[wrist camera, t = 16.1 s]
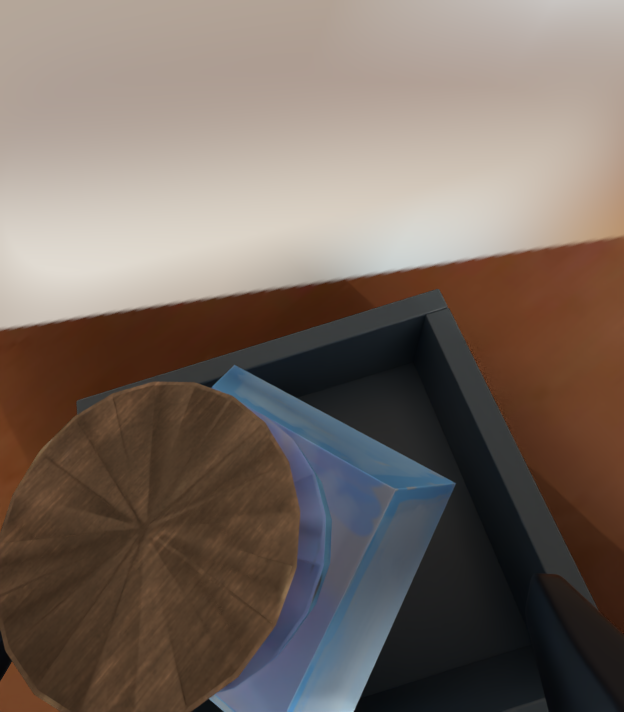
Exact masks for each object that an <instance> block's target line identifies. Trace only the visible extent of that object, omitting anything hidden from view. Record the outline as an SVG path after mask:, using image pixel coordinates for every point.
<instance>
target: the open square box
mask: <svg viewBox="0 0 624 712" xmlns="http://www.w3.org/2000/svg"><path fill="white" fill-rule="evenodd" d="M234 365H236V366H238V367H239V368H241V369H243V370H245V371H247V372H249V373H251V374H252V375H254V376H256V377H258V378H260V379H262V380H264V381H266V382H267V383H269V384H271V385H273V386H275V387H277V388H279V389H281V390H282V391H284V392H286V393H288V394H290V395H292V396H294V397H295V398H297V399H299V400H301V401H303V402H305V403H307V404H309V405H310V406H312V407H314V408H316V409H318V410H320V411H322V412H324V413H325V414H327V415H329V416H331V417H333V418H335V419H337V420H338V421H340V422H342V423H344V424H346V425H348V426H350V427H352V428H353V429H355V430H357V431H359V432H361V433H363V434H365V435H366V436H368V437H370V438H372V439H374V440H376V441H378V442H380V443H381V444H383V445H385V446H387V447H389V448H391V449H393V450H395V451H396V452H398V453H400V454H402V455H404V456H406V457H408V458H409V459H411V460H413V461H415V462H417V463H419V464H421V465H423V466H424V467H426V468H428V469H430V470H432V471H434V472H436V473H438V474H439V475H441V476H443V477H445V478H447V479H449V480H451V481H452V482H454V483H456V484H455V487H454V489H453V491H452V493H451V496H450V498H449V500H448V502H447V504H446V507H445V509H444V511H443V513H442V516H441V518H440V520H439V522H438V525H437V527H436V529H435V531H434V533H433V536H432V538H431V540H430V542H429V545H428V547H427V549H426V551H425V554H424V556H423V558H422V560H421V562H420V565H419V567H418V569H417V571H416V574H415V576H414V578H413V580H412V583H411V585H410V587H409V589H408V591H407V594H406V596H405V598H404V600H403V603H402V605H401V607H400V609H399V612H398V614H397V616H396V618H395V620H394V623H393V625H392V627H391V629H390V632H389V634H388V636H387V638H386V641H385V643H384V645H383V647H382V649H381V652H380V654H379V656H378V658H377V661H376V663H375V665H374V667H373V670H372V672H371V674H370V676H369V678H368V681H367V683H366V685H365V687H364V690H363V692H362V694H361V696H360V699H359V701H358V703H357V705H356V707H355V710H354V712H549V711H548V707H547V703H546V699H545V695H544V691H543V687H542V683H541V679H540V675H539V671H538V667H537V663H536V659H535V655H534V651H533V647H532V643H531V639H530V634H529V630H528V626H527V622H526V614H525V608H526V602H527V597H528V591H529V586H530V581H531V577H532V576H533V574H535V573H545V574H557V575H560V576H561V577H563V578H564V579H565V580H566V581H567V582H568V583H570V584H571V585H572V586H573V587H574V588H575V589H576V590H577V591H578V592H579V593H580V594H581V595H582V596H583V597H584V598H586V599H587V600H588V601H589V602H590V603H591V604H592V605H593V606H594V607H595V608H596V609H597V610H598V608H597V606H596V604H595V602H594V600H593V598H592V596H591V594H590V592H589V590H588V588H587V586H586V584H585V582H584V580H583V578H582V576H581V574H580V572H579V570H578V568H577V566H576V564H575V562H574V560H573V558H572V556H571V554H570V552H569V550H568V548H567V546H566V544H565V542H564V540H563V537H562V535H561V533H560V531H559V529H558V527H557V525H556V523H555V521H554V519H553V517H552V515H551V513H550V511H549V509H548V507H547V505H546V503H545V501H544V499H543V497H542V495H541V493H540V491H539V489H538V487H537V485H536V483H535V481H534V479H533V477H532V475H531V473H530V471H529V469H528V467H527V465H526V463H525V461H524V459H523V457H522V455H521V453H520V451H519V449H518V447H517V445H516V443H515V441H514V439H513V437H512V435H511V432H510V430H509V428H508V426H507V424H506V422H505V420H504V418H503V416H502V414H501V412H500V410H499V408H498V406H497V404H496V402H495V400H494V398H493V396H492V394H491V392H490V390H489V388H488V386H487V384H486V382H485V380H484V378H483V376H482V374H481V372H480V370H479V368H478V366H477V364H476V362H475V360H474V358H473V356H472V354H471V352H470V350H469V348H468V346H467V344H466V342H465V340H464V338H463V336H462V334H461V332H460V330H459V328H458V325H457V323H456V321H455V319H454V317H453V315H452V313H451V311H450V309H449V308H448V306H447V304H446V302H445V300H444V298H443V296H442V294H441V292H440V290H439V289H436V290H432V291H429V292H426V293H423V294H419V295H416V296H413V297H410V298H407V299H403V300H400V301H397V302H394V303H390V304H387V305H384V306H381V307H377V308H374V309H371V310H368V311H365V312H361V313H358V314H355V315H352V316H348V317H345V318H342V319H339V320H335V321H332V322H329V323H326V324H323V325H319V326H316V327H313V328H310V329H306V330H303V331H300V332H297V333H294V334H290V335H287V336H284V337H281V338H277V339H274V340H271V341H268V342H264V343H261V344H258V345H255V346H252V347H248V348H245V349H242V350H239V351H235V352H232V353H229V354H226V355H222V356H219V357H216V358H213V359H210V360H206V361H203V362H200V363H197V364H193V365H190V366H187V367H184V368H180V369H177V370H174V371H171V372H168V373H164V374H161V375H158V376H155V377H151V378H148V379H145V380H142V381H138V382H135V383H132V384H129V385H126V386H122V387H119V388H116V389H113V390H109V391H106V392H103V393H100V394H97V395H93V396H90V397H87V398H84V399H80V400H78V401H77V415H78V414H79V413H81V412H83V411H84V410H86V409H88V408H89V407H91V406H93V405H94V404H96V403H98V402H99V401H101V400H102V399H104V398H106V397H107V396H109V395H111V394H112V393H116V392H119V391H123V390H126V389H130V388H133V387H136V386H140V385H143V384H147V383H150V382H195V383H198V384H201V385H204V386H207V387H209V388H212V386H213V385H214V384H215V383H216V382H217V381H218V380H219V379H220V378H222V377H223V376H224V375H225V374H226V373H227V372H228V371H229V370H230V369H231V368H232V367H233V366H234ZM598 611H599V610H598ZM191 712H224V711H223V710H221V709H220V708H219V707H218V706H217V705H215V704H214V703H213V702H212V701H211V700H210V699H208V700H206V701H205V702H203V703H202V704H201V705H199V706H198V707H197V708H195V709H194V710H192V711H191Z"/></svg>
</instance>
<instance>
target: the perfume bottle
mask: <svg viewBox="0 0 624 712" xmlns="http://www.w3.org/2000/svg"><path fill="white" fill-rule="evenodd" d="M455 484H456V483H454V482H452V481H451V480H449V479H447V478H445V477H443V476H441V475H439V474H438V473H436V472H434V471H432V470H430V469H428V468H426V467H424V466H423V465H421V464H419V463H417V462H415V461H413V460H411V459H409V458H408V457H406V456H404V455H402V454H400V453H398V452H396V451H395V450H393V449H391V448H389V447H387V446H385V445H383V444H381V443H380V442H378V441H376V440H374V439H372V438H370V437H368V436H366V435H365V434H363V433H361V432H359V431H357V430H355V429H353V428H352V427H350V426H348V425H346V424H344V423H342V422H340V421H338V420H337V419H335V418H333V417H331V416H329V415H327V414H325V413H324V412H322V411H320V410H318V409H316V408H314V407H312V406H310V405H309V404H307V403H305V402H303V401H301V400H299V399H297V398H295V397H294V396H292V395H290V394H288V393H286V392H284V391H282V390H281V389H279V388H277V387H275V386H273V385H271V384H269V383H267V382H266V381H264V380H262V379H260V378H258V377H256V376H254V375H252V374H251V373H249V372H247V371H245V370H243V369H241V368H239V367H238V366H236V365H234V366H233V367H232V368H231V369H230V370H229V371H228V372H227V373H226V374H225V375H224V376H223V377H222V378H220V379H219V380H218V381H217V382H216V383H215V384H214V385H213V386H212V388H209V387H207V386H204V385H201V384H198V383H195V382H150V383H147V384H143V385H140V386H136V387H133V388H130V389H126V390H123V391H119V392H116V393H112V394H111V395H109V396H107V397H106V398H104V399H102V400H101V401H99V402H98V403H96V404H94V405H93V406H91V407H89V408H88V409H86V410H84V411H83V412H81V413H79V414H78V415H76V416H74V417H73V418H72V419H71V420H70V421H69V422H68V423H67V424H66V425H65V426H64V427H63V428H62V429H61V430H60V431H59V432H58V433H57V434H56V435H55V436H54V437H53V438H52V439H51V440H50V441H49V442H48V443H47V444H46V445H45V446H44V447H43V448H42V449H41V450H40V451H39V453H38V454H37V456H36V458H35V459H34V461H33V463H32V464H31V466H30V468H29V469H28V471H27V472H26V474H25V476H24V477H23V479H22V481H21V482H20V484H19V485H18V487H17V489H16V490H15V492H14V494H13V495H12V498H11V502H10V505H9V508H8V511H7V514H6V517H5V520H4V523H3V526H2V529H1V532H0V631H1V635H2V639H3V643H4V647H5V651H6V653H7V654H8V656H9V657H10V659H11V660H12V662H13V663H14V665H15V666H16V668H17V669H18V671H19V672H20V674H21V675H22V677H23V678H24V680H25V681H26V683H27V684H28V686H29V687H30V689H31V690H32V692H33V693H34V695H36V696H37V697H39V698H40V699H42V700H44V701H45V702H47V703H48V704H50V705H51V706H53V707H54V708H56V709H57V710H59V711H61V712H191V711H192V710H194V709H195V708H197V707H198V706H199V705H201V704H202V703H203V702H205V701H206V700H208V699H210V700H211V701H212V702H213V703H214V704H215V705H217V706H218V707H219V708H220V709H221V710H223V711H224V712H354V710H355V707H356V705H357V703H358V701H359V699H360V696H361V694H362V692H363V690H364V687H365V685H366V683H367V681H368V678H369V676H370V674H371V672H372V670H373V667H374V665H375V663H376V661H377V658H378V656H379V654H380V652H381V649H382V647H383V645H384V643H385V641H386V638H387V636H388V634H389V632H390V629H391V627H392V625H393V623H394V620H395V618H396V616H397V614H398V612H399V609H400V607H401V605H402V603H403V600H404V598H405V596H406V594H407V591H408V589H409V587H410V585H411V583H412V580H413V578H414V576H415V574H416V571H417V569H418V567H419V565H420V562H421V560H422V558H423V556H424V554H425V551H426V549H427V547H428V545H429V542H430V540H431V538H432V536H433V533H434V531H435V529H436V527H437V525H438V522H439V520H440V518H441V516H442V513H443V511H444V509H445V507H446V504H447V502H448V500H449V498H450V496H451V493H452V491H453V489H454V487H455Z"/></svg>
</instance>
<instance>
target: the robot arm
mask: <svg viewBox="0 0 624 712" xmlns="http://www.w3.org/2000/svg"><path fill="white" fill-rule="evenodd" d="M525 614H526V622H527V626H528V630H529V634H530V639H531V643H532V647H533V651H534V655H535V659H536V663H537V667H538V671H539V675H540V679H541V683H542V687H543V691H544V695H545V699H546V703H547V707H548V711H549V712H624V634H623V633H622V632H621V631H620V630H619V629H618V628H616V627H615V626H614V625H613V624H612V623H611V622H610V621H609V620H608V619H607V618H606V617H605V616H604V615H603V614H602V613H600V612H599V611H598V610H597V609H596V608H595V607H594V606H593V605H592V604H591V603H590V602H589V601H588V600H587V599H586V598H584V597H583V596H582V595H581V594H580V593H579V592H578V591H577V590H576V589H575V588H574V587H573V586H572V585H571V584H570V583H568V582H567V581H566V580H565V579H564V578H563V577H561V576H560V575H557V574H545V573H535V574H533V576H532V577H531V581H530V586H529V591H528V597H527V602H526V608H525ZM11 662H12V660H11V659H10V657H9V656H8V654H7V653H6V651H5V647H4V643H3V639H2V635H1V631H0V681H1V679H2V678H3V676H4V674H5V673H6V671H7V669H8V667H9V666H10V664H11Z"/></svg>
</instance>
